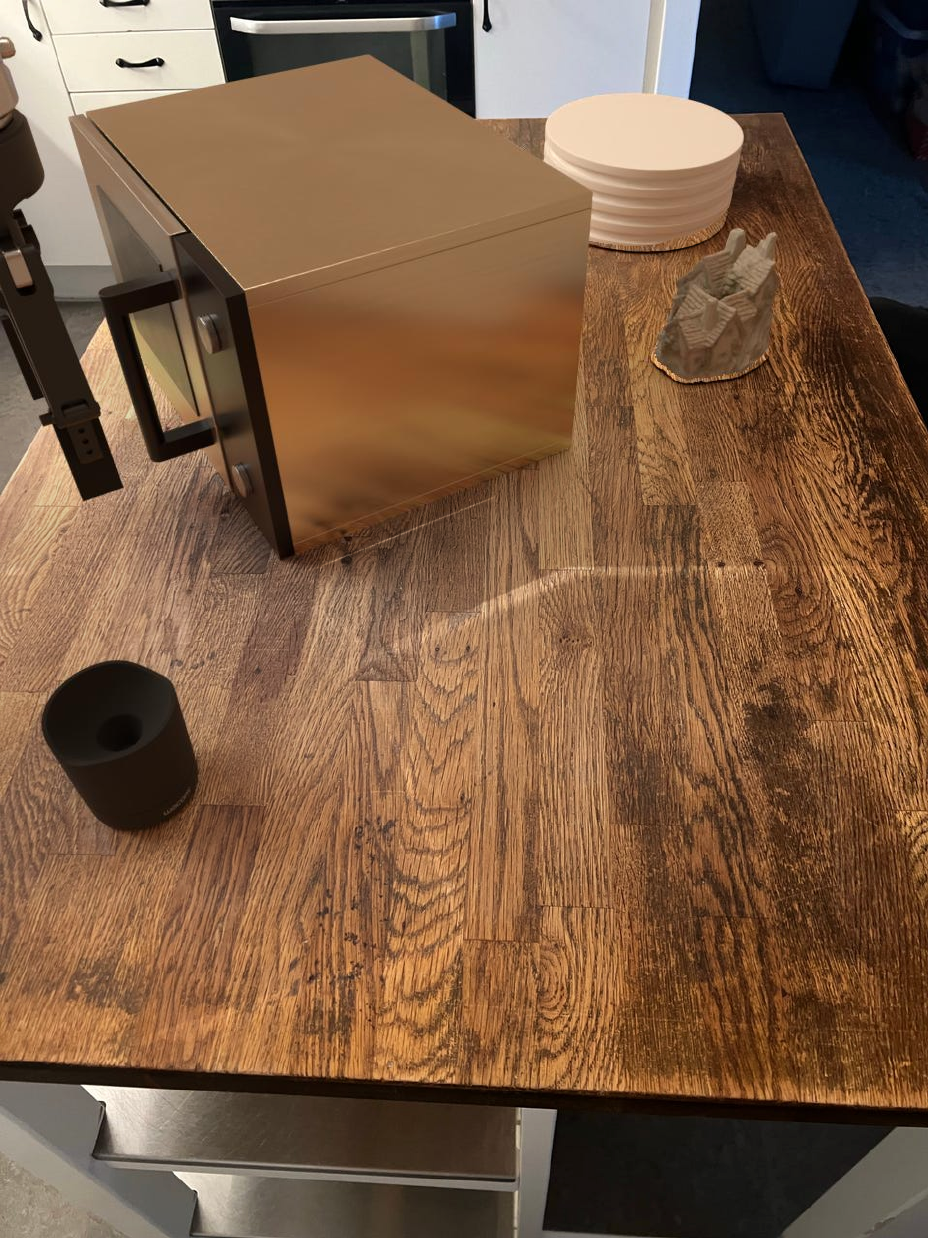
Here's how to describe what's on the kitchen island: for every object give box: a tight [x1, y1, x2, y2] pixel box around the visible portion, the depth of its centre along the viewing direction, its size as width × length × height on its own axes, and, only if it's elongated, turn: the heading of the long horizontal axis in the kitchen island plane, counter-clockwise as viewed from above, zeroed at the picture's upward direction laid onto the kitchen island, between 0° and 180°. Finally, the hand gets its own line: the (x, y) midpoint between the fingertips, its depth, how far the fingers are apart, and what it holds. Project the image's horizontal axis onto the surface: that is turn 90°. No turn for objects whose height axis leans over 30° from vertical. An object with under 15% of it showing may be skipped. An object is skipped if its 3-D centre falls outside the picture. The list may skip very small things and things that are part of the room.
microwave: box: [85, 53, 593, 561], centre depth 102 cm, size 35×44×28 cm
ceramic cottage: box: [652, 227, 782, 380], centre depth 114 cm, size 16×16×15 cm
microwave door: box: [68, 113, 235, 492], centre depth 99 cm, size 8×32×28 cm, turn 31°
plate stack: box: [543, 92, 745, 246], centre depth 141 cm, size 28×28×12 cm
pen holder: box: [40, 659, 199, 831], centre depth 73 cm, size 9×9×10 cm
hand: (75, 439), depth 68 cm, fingers open, 13 cm apart
